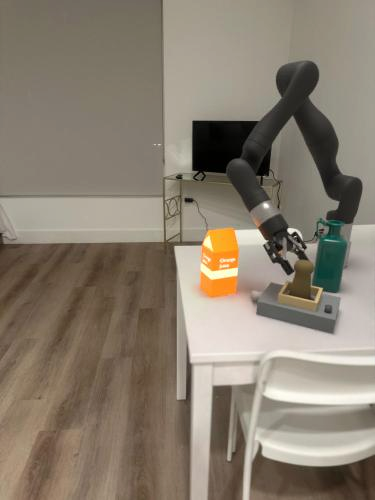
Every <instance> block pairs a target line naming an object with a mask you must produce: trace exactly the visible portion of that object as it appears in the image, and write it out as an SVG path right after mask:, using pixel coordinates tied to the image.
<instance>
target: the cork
mask: <svg viewBox="0 0 375 500" xmlns="http://www.w3.org/2000/svg"><path fill="white" fill-rule="evenodd" d="M293 269H294V276H293V279H292V281H291V282H292V285H291V288H290V292H289V296H294V297H298V298H303V299H307V300H311V286H312V275H313V271H314V263H313V262H312V261H307V260H299V259H298V260H296V261H295V262H294V265H293Z"/></svg>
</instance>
